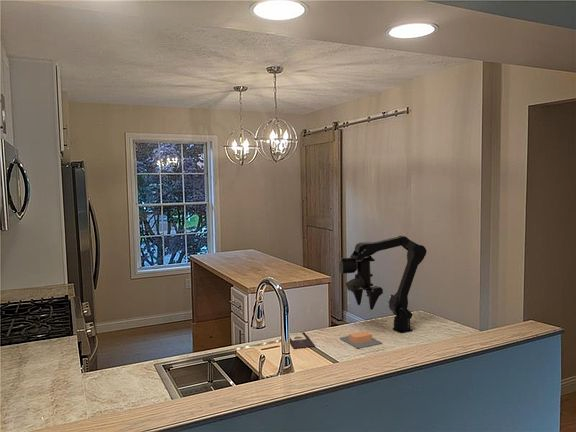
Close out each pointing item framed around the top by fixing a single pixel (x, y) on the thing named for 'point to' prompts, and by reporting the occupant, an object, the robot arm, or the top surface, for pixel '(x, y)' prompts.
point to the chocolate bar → (300, 341)
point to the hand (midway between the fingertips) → (365, 307)
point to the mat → (362, 344)
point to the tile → (360, 337)
